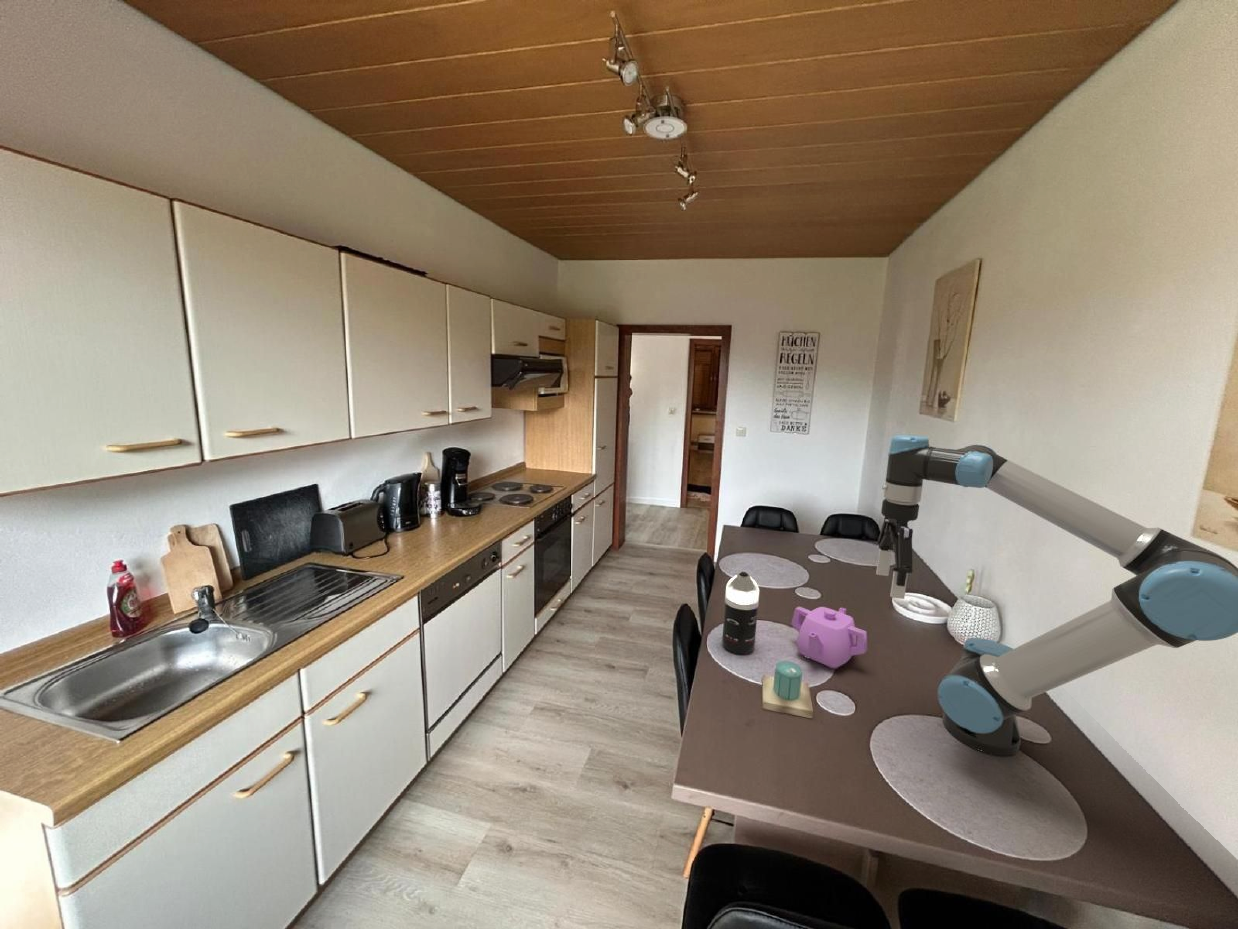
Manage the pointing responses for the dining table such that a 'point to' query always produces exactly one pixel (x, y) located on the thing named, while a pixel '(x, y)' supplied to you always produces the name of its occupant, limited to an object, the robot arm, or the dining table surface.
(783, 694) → the cap
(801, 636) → the teapot
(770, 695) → the bolt post
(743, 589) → the black bottle
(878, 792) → the dining table surface
